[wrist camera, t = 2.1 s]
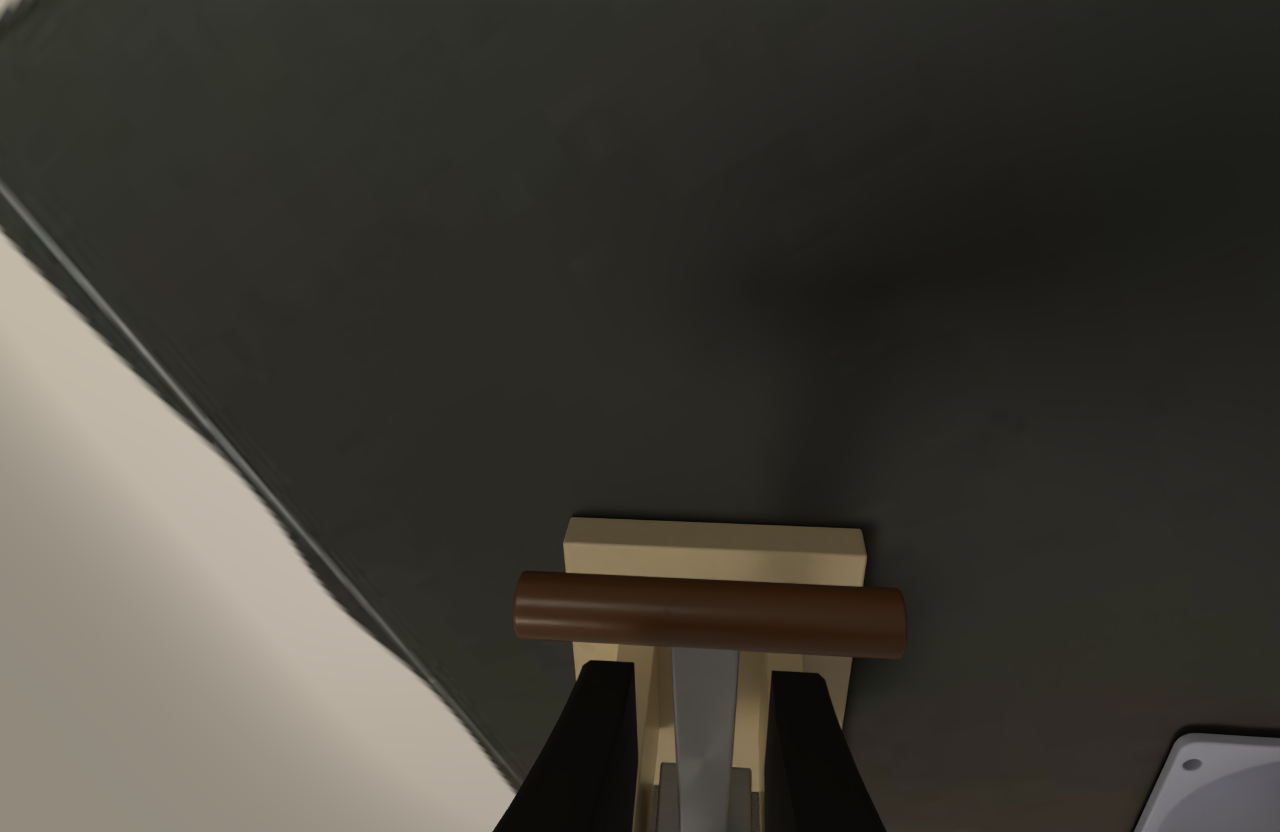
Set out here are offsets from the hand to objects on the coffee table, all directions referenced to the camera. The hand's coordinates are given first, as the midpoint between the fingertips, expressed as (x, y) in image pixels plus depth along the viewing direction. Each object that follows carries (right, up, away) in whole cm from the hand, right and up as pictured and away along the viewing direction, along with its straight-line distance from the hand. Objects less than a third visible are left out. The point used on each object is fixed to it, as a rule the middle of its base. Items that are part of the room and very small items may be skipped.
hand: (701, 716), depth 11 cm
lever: (+1, -2, +6) cm, 7 cm away
